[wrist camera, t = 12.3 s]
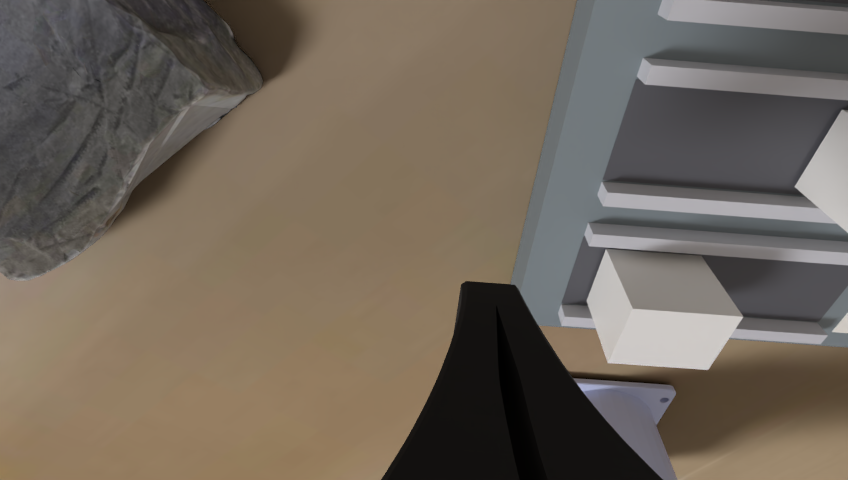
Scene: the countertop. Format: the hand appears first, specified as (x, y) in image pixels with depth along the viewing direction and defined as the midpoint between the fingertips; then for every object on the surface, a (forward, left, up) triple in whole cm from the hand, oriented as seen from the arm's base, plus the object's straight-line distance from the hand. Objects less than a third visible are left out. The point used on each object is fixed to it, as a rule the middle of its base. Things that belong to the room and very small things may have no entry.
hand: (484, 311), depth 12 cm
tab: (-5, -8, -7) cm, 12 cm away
